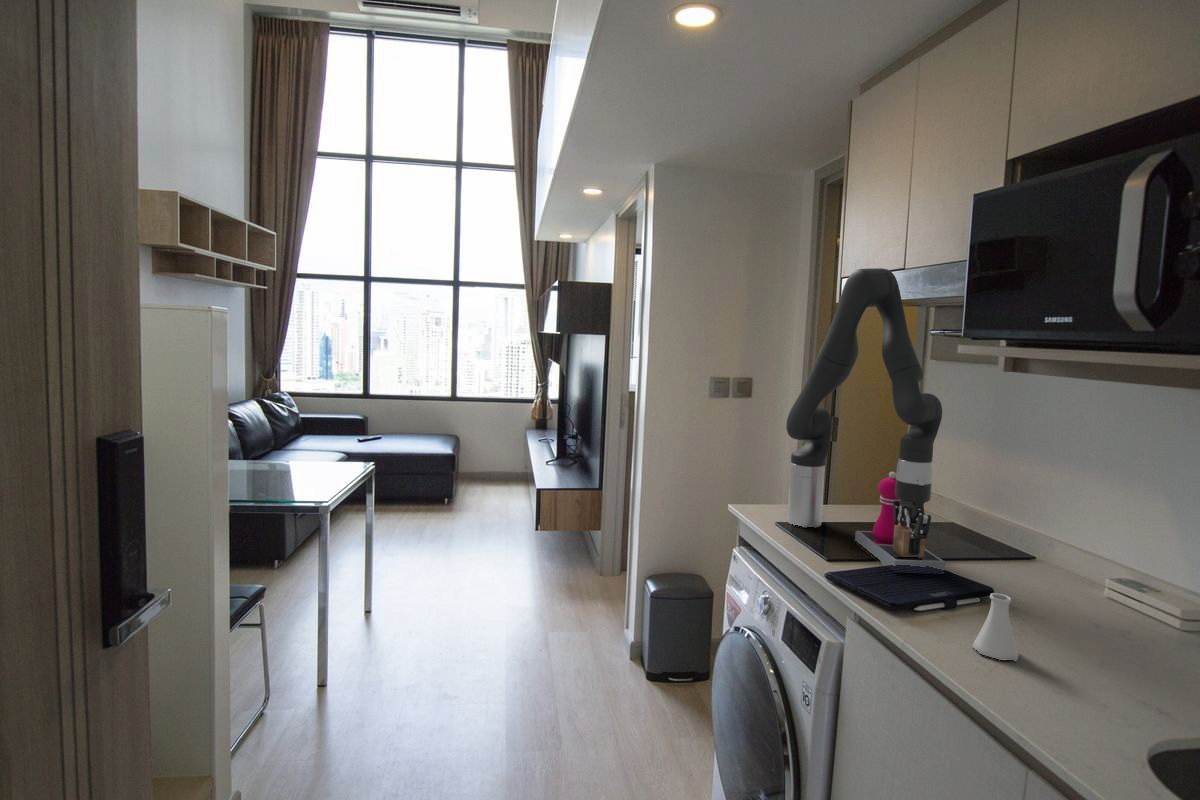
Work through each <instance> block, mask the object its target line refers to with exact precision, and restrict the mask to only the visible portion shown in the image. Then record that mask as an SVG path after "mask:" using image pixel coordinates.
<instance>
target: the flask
mask: <svg viewBox="0 0 1200 800" xmlns="http://www.w3.org/2000/svg"><path fill="white" fill-rule="evenodd" d="M989 599H990V601H991V603H990V609H989V612H988V614H987V617H986V619H985V621H984V623H983V625H982V627H981V629H980V631H979V632H978V634H977V636H976V638H975V640H974V642H973V643H972V645H971V647H972V646H973V648H975V649H974V651H976V650H977V651H978V652H979V653H980V654H983V655H986V656H989V657H993V658H998V659H1007V660H1017V659H1018V660H1019V658H1018V656H1019V657H1020V652H1019V651H1020V650H1019V648H1018V645H1017V641H1016V638H1015V635H1014V632H1013V629H1012V625H1011V624H1012V623H1011V622H1010V621H1011V620H1010V613H1009V607H1010V603H1011V602H1012V597H1010V596H1008V595H1007V594H1004V593H1003V594H1002V593H996V592H995V593H994V592H992V593H990V595H989ZM973 648H972V649H973ZM977 651H976V652H977ZM978 652H977V653H978ZM979 653H978V654H979ZM980 654H979V655H980ZM986 656H985V657H986ZM989 657H988V658H989ZM993 658H992V659H993ZM1018 660H1017V661H1018Z"/></svg>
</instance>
